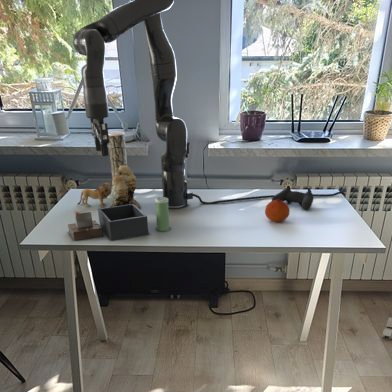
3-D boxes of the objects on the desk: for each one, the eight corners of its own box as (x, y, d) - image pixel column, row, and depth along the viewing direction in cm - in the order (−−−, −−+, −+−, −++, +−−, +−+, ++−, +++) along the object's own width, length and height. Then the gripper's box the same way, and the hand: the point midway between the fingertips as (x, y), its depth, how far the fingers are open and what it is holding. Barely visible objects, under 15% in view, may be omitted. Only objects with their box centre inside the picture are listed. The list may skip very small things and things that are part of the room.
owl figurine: (115, 202, 210) (110, 159, 200) (142, 202, 209) (139, 159, 200) (105, 216, 195) (100, 171, 185) (135, 216, 194) (131, 171, 185)
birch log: (126, 196, 216) (121, 134, 203) (111, 195, 218) (105, 134, 204) (131, 191, 222) (126, 131, 208) (116, 191, 223) (110, 130, 209)
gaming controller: (309, 216, 200) (319, 197, 203) (308, 206, 195) (318, 187, 198) (271, 209, 207) (281, 191, 210) (269, 199, 203) (279, 181, 206)
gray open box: (134, 220, 190) (133, 203, 187) (148, 234, 178) (147, 216, 175) (99, 226, 186) (97, 208, 182) (111, 240, 174) (109, 221, 170)
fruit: (293, 221, 188) (295, 200, 183) (274, 226, 184) (276, 204, 179) (278, 215, 194) (280, 194, 190) (260, 219, 190) (261, 198, 186)
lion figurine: (113, 202, 209) (111, 181, 204) (112, 207, 205) (110, 184, 200) (78, 204, 208) (75, 182, 203) (76, 208, 204) (73, 185, 199)
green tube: (166, 226, 185) (165, 196, 179) (171, 230, 182) (170, 199, 176) (155, 228, 184) (153, 198, 178) (159, 232, 180) (157, 201, 174)
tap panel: (95, 227, 184) (94, 219, 183) (102, 236, 177) (101, 227, 175) (68, 232, 181) (67, 223, 179) (74, 241, 174) (73, 232, 172)
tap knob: (91, 223, 179) (89, 209, 176) (93, 225, 177) (91, 211, 174) (76, 226, 177) (73, 211, 174) (77, 228, 175) (75, 213, 173)
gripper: (112, 103, 160) (118, 156, 169) (101, 97, 171) (107, 147, 180) (89, 105, 157) (96, 159, 166) (80, 99, 168) (87, 150, 177)
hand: (102, 153), depth 173 cm, fingers open, 8 cm apart
